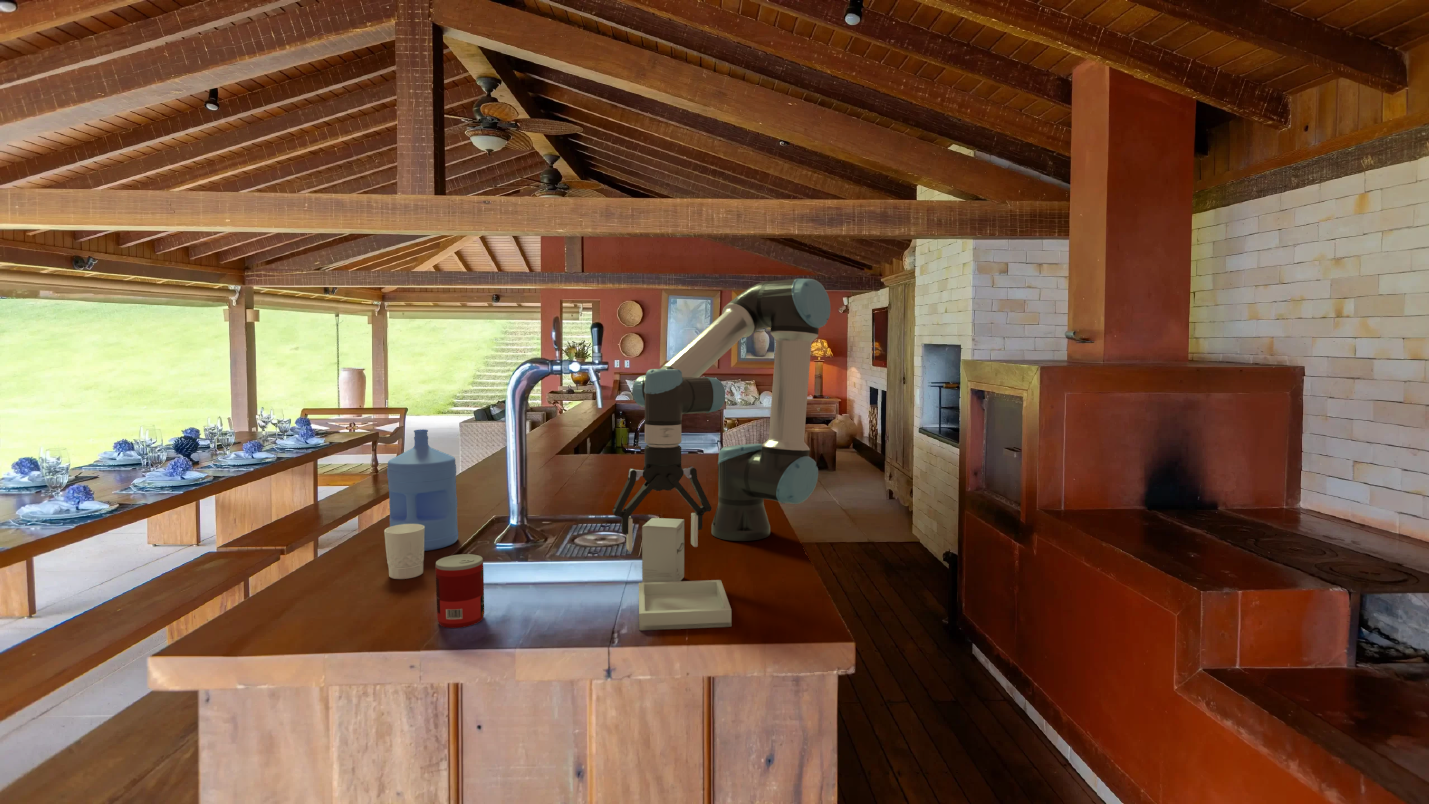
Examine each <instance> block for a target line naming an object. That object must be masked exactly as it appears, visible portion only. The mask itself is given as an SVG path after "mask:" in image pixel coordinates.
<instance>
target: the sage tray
mask: <svg viewBox="0 0 1429 804" xmlns="http://www.w3.org/2000/svg"><path fill="white" fill-rule="evenodd" d="M638 622H639V623H638V625H639V629H638V630H639V631H659V630H681V629H683V630H684V629H685V630H686V629H707V628H709V629H710V628H729V627H731V628H732V608H731V605H730V602H729V599H728V596H727V593H726V591H725V588H724V585H723V583H722V580H721V579H711V580H709V579H707V580H706V579H705V580H681V581H676V582H647V583H642V582H638Z"/></svg>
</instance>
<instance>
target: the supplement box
mask: <svg viewBox="0 0 1429 804" xmlns="http://www.w3.org/2000/svg"><path fill="white" fill-rule="evenodd" d="M641 537H642V538H641V539H642V540H641V541H642V542H641V544H642V546H641V549H642V550H641V554H642V555H641V561H642V562H641V564H642V565H641V566H642V567H641V569H642V571H641V577H642V580H641V581H642V582H641V583H647V582H676V581H683V579H684V577H685V519H684V518H683V519H682V518H664V517H661V518H660V517H651V518H650V519H649V520H647V522H645V523H644V524H643V525H642V526H641Z"/></svg>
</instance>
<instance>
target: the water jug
mask: <svg viewBox="0 0 1429 804" xmlns="http://www.w3.org/2000/svg"><path fill="white" fill-rule="evenodd" d="M428 432H429V429H426V428H425V429H424V428H423V429H415V430H413V433H414V436H413V440H414V446H413V447H412V448H410V449H408V450H405V451H404V452H402V453H401V454H399V455H396V456H395V457H393V458H390V459H389V460H388V461H387V468H386V471H387V472H386V476H387V483H388V495H389V502H388V503H389V527H391V526H395V525H401V524H420V525H423V526H424V527H425V533H424V552H427V551H434V550H439V549H443V548H446V547H449V546H451V545H454V544H455V543H456V542H457V541H458V539H459V529H458V497H457V464H456V458H455V457H454V456H453V455H450V454H449V453H446V452H443V451H440V450H438V449H435V448H433V447H431V446H430V445H429V435H428Z"/></svg>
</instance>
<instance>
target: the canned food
mask: <svg viewBox="0 0 1429 804" xmlns="http://www.w3.org/2000/svg"><path fill="white" fill-rule="evenodd" d="M484 576H485V575H484V559H483V557H482V556H481V555H477V554H472V553H464V554H463V553H462V554H453V555H452V554H451V555H449V556H444V557H441V558H439V559H438V560H436V561H435V592H436V593H435V594H436V596H435V597H436V616H437V617H436V619H437V622H438V625H439V626H441V627H442V628H448V629H460V628H466V627H470V626H474V625H476V624H478V623H480V622H481V621H482V620H483V619H484V616H485V587H484V586H485V584H484V583H485V582H484V579H485V577H484Z"/></svg>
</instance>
